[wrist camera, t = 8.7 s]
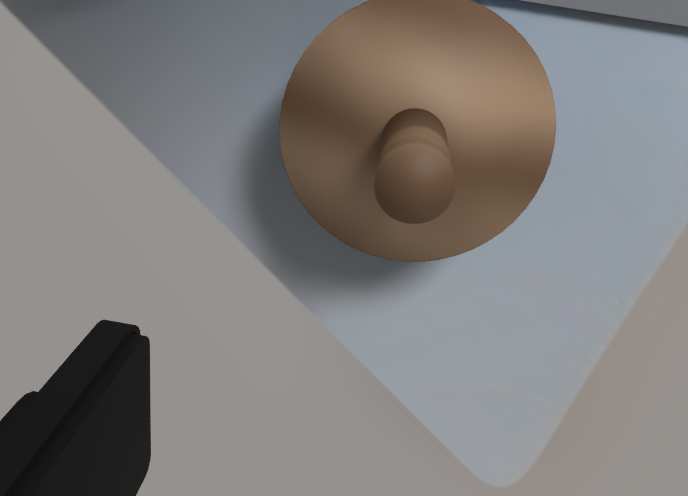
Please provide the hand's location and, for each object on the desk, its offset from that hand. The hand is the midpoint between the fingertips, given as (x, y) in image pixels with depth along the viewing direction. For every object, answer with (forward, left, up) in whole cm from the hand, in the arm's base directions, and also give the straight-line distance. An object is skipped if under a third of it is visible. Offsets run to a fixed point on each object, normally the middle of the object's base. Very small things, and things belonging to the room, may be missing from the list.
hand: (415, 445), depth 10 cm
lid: (0, 0, -19) cm, 19 cm away
